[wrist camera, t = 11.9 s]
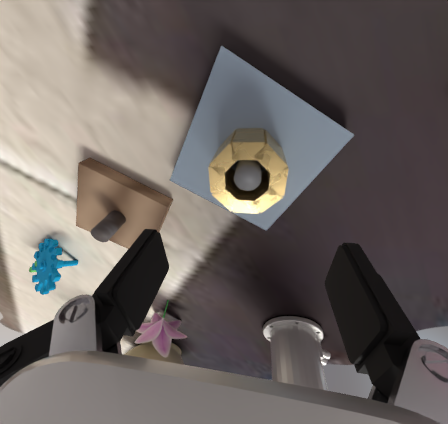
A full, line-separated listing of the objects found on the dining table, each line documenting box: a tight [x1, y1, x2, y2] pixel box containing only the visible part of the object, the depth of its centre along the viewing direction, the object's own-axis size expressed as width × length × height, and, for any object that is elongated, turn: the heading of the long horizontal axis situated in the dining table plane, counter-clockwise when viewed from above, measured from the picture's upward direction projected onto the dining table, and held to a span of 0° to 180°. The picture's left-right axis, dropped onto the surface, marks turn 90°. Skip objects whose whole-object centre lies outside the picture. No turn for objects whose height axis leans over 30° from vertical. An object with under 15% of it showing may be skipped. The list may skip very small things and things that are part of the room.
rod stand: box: [76, 158, 173, 249], centre depth 27 cm, size 12×12×6 cm
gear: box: [29, 239, 78, 295], centre depth 38 cm, size 11×6×10 cm
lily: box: [134, 300, 187, 358], centre depth 43 cm, size 12×12×10 cm
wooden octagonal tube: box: [208, 128, 289, 214], centre depth 19 cm, size 7×7×5 cm
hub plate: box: [170, 46, 354, 231], centre depth 20 cm, size 14×14×6 cm
